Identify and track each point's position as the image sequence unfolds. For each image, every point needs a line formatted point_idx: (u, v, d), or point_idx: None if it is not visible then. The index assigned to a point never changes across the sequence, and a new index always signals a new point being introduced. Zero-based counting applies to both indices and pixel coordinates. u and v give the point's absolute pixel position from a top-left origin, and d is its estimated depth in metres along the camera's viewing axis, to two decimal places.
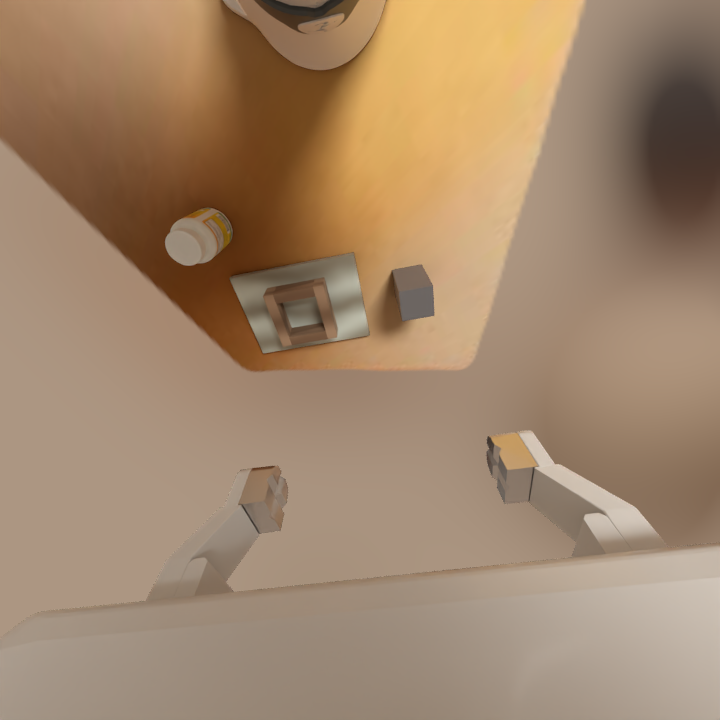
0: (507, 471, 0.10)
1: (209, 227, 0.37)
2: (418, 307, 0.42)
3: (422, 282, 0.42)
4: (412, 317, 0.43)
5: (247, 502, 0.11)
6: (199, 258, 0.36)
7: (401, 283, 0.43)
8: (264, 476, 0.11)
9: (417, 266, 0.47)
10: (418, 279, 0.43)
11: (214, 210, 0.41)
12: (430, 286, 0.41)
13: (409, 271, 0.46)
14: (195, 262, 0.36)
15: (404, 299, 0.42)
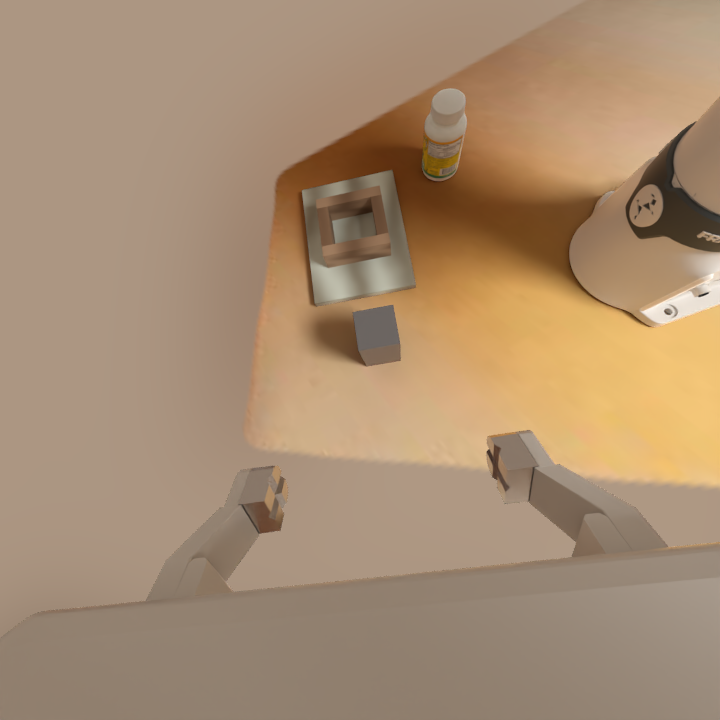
0: (507, 471, 0.10)
1: (457, 140, 0.40)
2: (371, 329, 0.34)
3: None
4: (357, 323, 0.34)
5: (247, 502, 0.11)
6: (439, 111, 0.37)
7: None
8: (264, 476, 0.11)
9: None
10: None
11: (457, 166, 0.45)
12: (398, 341, 0.33)
13: None
14: (435, 108, 0.37)
15: (382, 312, 0.34)
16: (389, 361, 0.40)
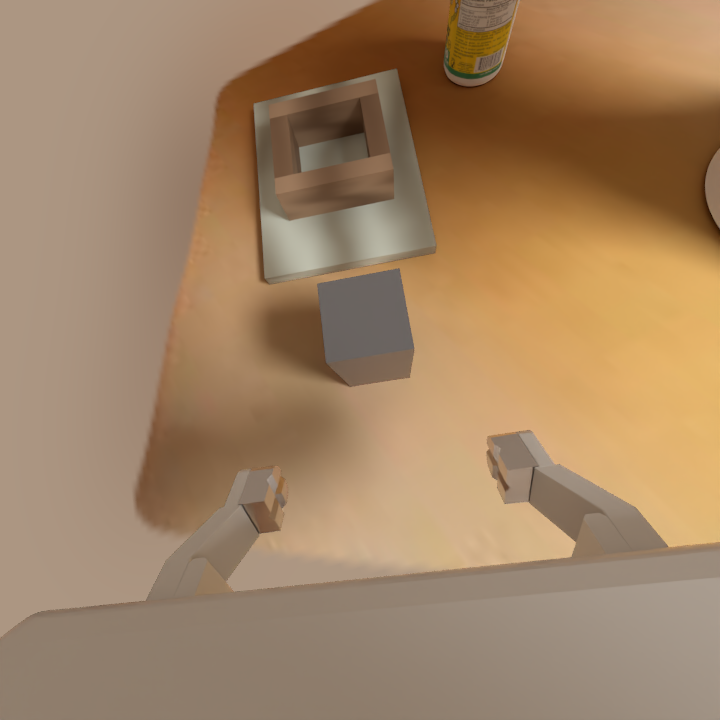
0: (507, 471, 0.10)
1: None
2: (354, 318, 0.16)
3: None
4: (325, 307, 0.17)
5: (247, 502, 0.11)
6: None
7: None
8: (264, 476, 0.11)
9: None
10: None
11: (502, 60, 0.28)
12: (411, 343, 0.16)
13: None
14: None
15: (377, 283, 0.16)
16: (390, 378, 0.23)
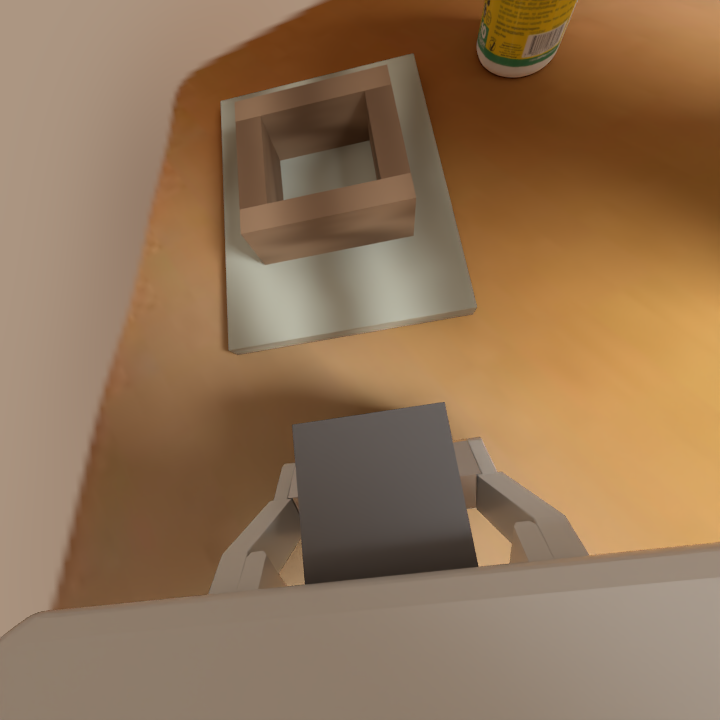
0: None
1: None
2: (360, 502, 0.09)
3: None
4: (306, 474, 0.09)
5: (297, 496, 0.10)
6: None
7: None
8: None
9: None
10: None
11: None
12: (475, 566, 0.08)
13: None
14: None
15: (403, 431, 0.09)
16: None
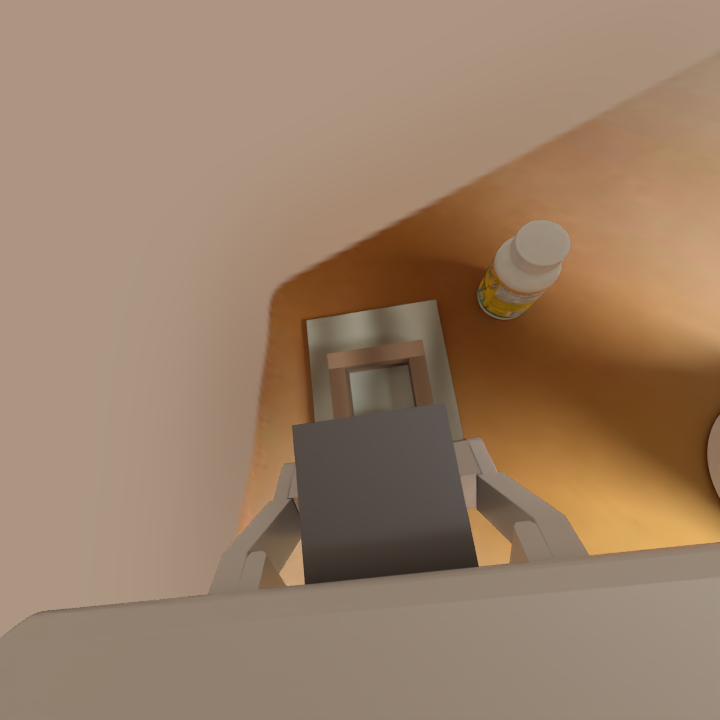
0: None
1: (546, 289, 0.26)
2: (360, 503, 0.08)
3: None
4: (307, 475, 0.09)
5: (297, 496, 0.10)
6: (528, 259, 0.23)
7: None
8: None
9: None
10: None
11: None
12: None
13: None
14: (521, 252, 0.24)
15: (403, 432, 0.09)
16: None
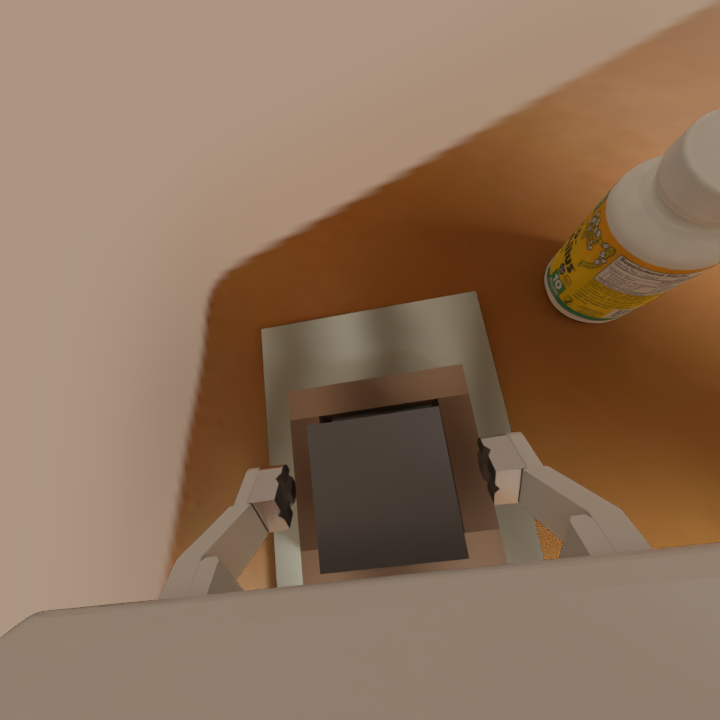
0: (496, 472, 0.10)
1: None
2: (365, 492, 0.10)
3: None
4: (319, 468, 0.10)
5: (257, 501, 0.11)
6: None
7: None
8: (273, 475, 0.11)
9: None
10: None
11: None
12: (464, 546, 0.09)
13: None
14: (703, 175, 0.10)
15: (403, 431, 0.10)
16: None
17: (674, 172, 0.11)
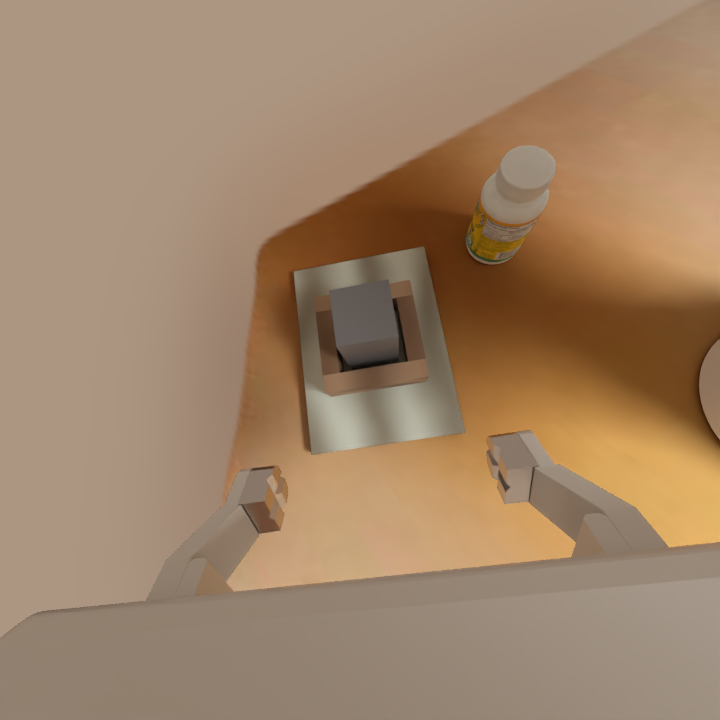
0: (507, 471, 0.10)
1: (533, 220, 0.26)
2: (355, 315, 0.23)
3: None
4: (335, 307, 0.23)
5: (247, 502, 0.11)
6: (513, 183, 0.23)
7: None
8: (264, 476, 0.11)
9: None
10: None
11: None
12: (396, 332, 0.22)
13: None
14: (506, 177, 0.23)
15: (372, 290, 0.23)
16: (383, 363, 0.29)
17: (498, 175, 0.24)
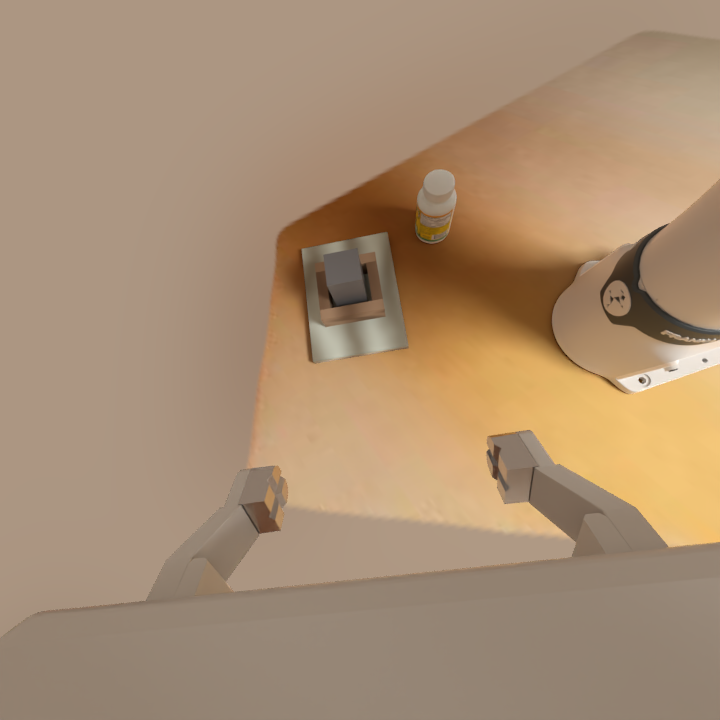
0: (507, 471, 0.10)
1: (447, 214, 0.42)
2: (338, 268, 0.40)
3: (362, 277, 0.41)
4: (326, 264, 0.40)
5: (247, 502, 0.11)
6: (430, 192, 0.40)
7: (360, 263, 0.42)
8: (264, 476, 0.11)
9: (367, 299, 0.46)
10: (363, 280, 0.42)
11: (448, 231, 0.48)
12: (361, 277, 0.39)
13: None
14: (426, 188, 0.40)
15: (348, 254, 0.40)
16: None
17: (423, 187, 0.41)
